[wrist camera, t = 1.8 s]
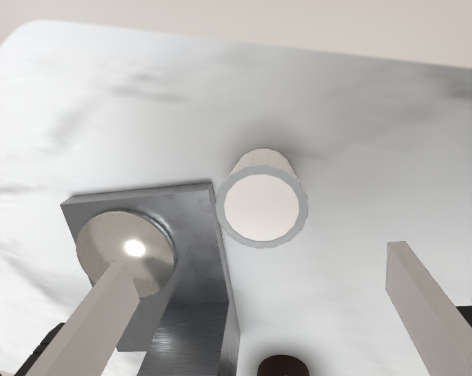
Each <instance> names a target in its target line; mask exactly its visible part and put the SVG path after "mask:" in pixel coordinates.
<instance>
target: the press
mask: <svg viewBox="0 0 472 376" xmlns="http://www.w3.org/2000/svg"><path fill="white" fill-rule="evenodd" d="M60 206H61V209H62V211H63V214H64V216H65V219H66V221H67V224H68V226H69V229H70V231H71V234H72V236H73V239H74V242H75V244H76V252H77V257H78V260H79V262H80V265H81V267H82V268H83V270H84V271H85V273H86V274H87V275H88V277H89V280H90V282H91V285H92V287H94V285H95V284H96V283H97V281H98V280H99V279H100V278H101V276H102V275H103V274H104V272H105V271H106V270H107V269H108V267H109V266H110V265H111V263H112V262H113V261H127V264H128V267H129V270H130V273H131V276H132V279H133V282H134V285H135V288H136V291H137V294H138V297H139V300H140V302H139V304H138V306H137V308H136V309H135V311H134V313H133V315H132V317H131V319H130V321H129V323H128V325H127V326H126V328H125V330H124V332H123V334H122V336H121V338H120V340H119V342H118V343H117V345H116V348H117V350H118V352H133V351H147V353H146V355H145V358H144V360H143V362H142V365H141V367H140V369H139V372H138V374H137V376H236V370H237V361H238V352H239V343H240V331H239V326H238V321H237V315H236V310H235V304H234V299H233V294H232V288H231V283H230V278H229V272H228V267H227V262H226V256H225V251H224V246H223V240H222V235H221V230H220V224H219V221H218V218H217V212H216V206H215V198H214V192H213V187H212V182H210V183H200V184H190V185H180V186H170V187H160V188H150V189H141V190H131V191H121V192H111V193H101V194H91V195H81V196H72V197H70V198H69V199H68V200H66V201H65V202H63V203H62V204H60Z"/></svg>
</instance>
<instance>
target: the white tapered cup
mask: <svg viewBox="0 0 472 376" xmlns="http://www.w3.org/2000/svg"><path fill="white" fill-rule="evenodd" d="M215 206H216V212H217V218H218V221H219V223H220V224H221V226H222V227H223V229H224V230H225V232H226V233H227V234H228V235H229V236H230V237H232V238H233V239H235V240H236V241H237V242H239V243H240V244H243V245H247V246H250V247H254V248H273V247H276V246H279V245H281V244H283V243H286V242H288V241H290V240H291V239H292V238H293V237H294V236H295V235H296V234H297V233H298V232H299V231H300V230H302V227H303V225H304V223H305V220H306V218H307V215H308V203H307V196H306V194H305V192H304V190H303V188H302V187H301V185H300V183H299V181H298V179H297V177H296V175H295V173H294V171H293V169H292V168H291V166H290V164H289V162H288V160H287V159H286V158H285V157H284V156H283V155H281V154H280V153H279V152H278V151H274V150H271V149H267V148H263V149H254V150H252V151H250V152H248V153H246V154H244V155H243V156H242V158H241V159H240V160H239V161H238V162H237V164H236V165H235V167H234V168H233V169H232V171H231V172H230V174H229V175H228V177H227V178H226V180H225V181H224V183H223V184H222V185H221V187H220V188H219V192H218V196H217V199H216V203H215Z"/></svg>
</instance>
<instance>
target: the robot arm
mask: <svg viewBox="0 0 472 376" xmlns="http://www.w3.org/2000/svg"><path fill="white" fill-rule="evenodd" d="M386 291H387V293H388V295H389V297H390V299H391V301H392V303H393V305H394V306H395V308H396V310H397V312H398V314H399V316H400V318H401V320H402V322H403V324H404V326H405V328H406V330H407V331H408V333H409V335H410V337H411V339H412V341H413V343H414V345H415V347H416V349H417V351H418V353H419V354H420V356H421V358H422V360H423V362H424V364H425V366H426V368H427V370H428V372H429V374H430V376H472V306H454V304H453V303H452V302H451V300H450V299H449V298H448V296H447V295H446V294H445V293H444V291H443V290H442V289H441V287H440V286H439V285H438V283H437V282H436V281H435V280H434V278H433V277H432V276H431V274H430V273H429V272H428V270H427V269H426V268H425V267H424V265H423V264H422V263H421V261H420V260H419V259H418V257H417V256H416V255H415V254H414V252H413V251H412V250H411V248H410V247H409V246H408V244H407V243H406V242H405V241H400V242H388V245H387V267H386ZM139 302H140V300H139V297H138V294H137V291H136V288H135V285H134V282H133V279H132V276H131V273H130V270H129V267H128V264H127V261H113V262H112V263H111V265H110V266H109V267H108V269H107V270H106V271H105V272H104V274H103V275H102V276H101V278H100V279H99V280H98V281H97V283H96V284H95V285H94V287H93V288H92V289H91V291H90V292H89V293H88V294H87V296H86V297H85V298H84V300H83V301H82V302H81V304H80V305H79V306H78V307H77V309H76V310H75V311H74V313H73V314H72V315H71V317H70V318H69V319H68V320H67V322H66V323H60V324H59V325H57V326H56V327H55V328H54V329H53V330H51V331H50V332H49V333H48V334H47V335H46V337H45V338H44V339H43V340H42V342H41V343H40V345H38V347H37V348H36V349H35V350H34V352H33V354H31V355H30V357H29V358H28V359H27V360H26V362H25V363H24V364H23V365H22V367H21V368H20V369H19V370H18V371H17V373H16V374H15V375H14V376H100V375H101V374H102V372H103V370H104V368H105V366H106V364H107V362H108V360H109V359H110V357H111V355H112V353H113V351H114V349H115V347H116V345H117V343H118V342H119V340H120V338H121V336H122V334H123V332H124V330H125V328H126V326H127V325H128V323H129V321H130V319H131V317H132V315H133V313H134V311H135V309H136V308H137V306H138V304H139ZM0 376H2V375H1V374H0Z"/></svg>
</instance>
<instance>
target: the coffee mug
mask: <svg viewBox="0 0 472 376" xmlns="http://www.w3.org/2000/svg"><path fill="white" fill-rule="evenodd" d="M257 376H310V375H309V371H308V369H307V367H306V365H305V364H304V363H303V362H302V361H300V360H299V359H297V358H294V357H292V356H287V355H276V356H271V357H269V358H267V359H265V360H264V361H263V362H261V364H260V365H259V368H258V373H257Z"/></svg>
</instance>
